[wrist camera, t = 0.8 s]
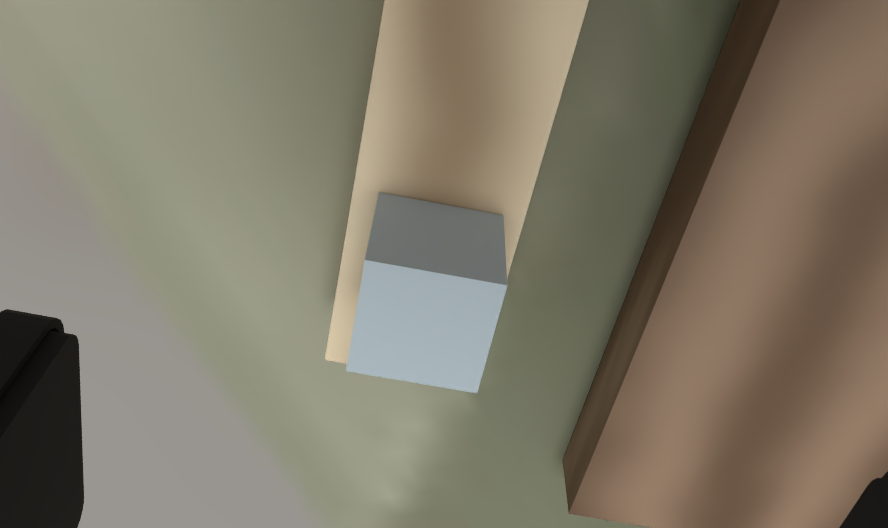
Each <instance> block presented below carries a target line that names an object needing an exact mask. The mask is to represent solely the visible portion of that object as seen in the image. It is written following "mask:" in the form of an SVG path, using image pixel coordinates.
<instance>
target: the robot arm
mask: <svg viewBox="0 0 888 528" xmlns="http://www.w3.org/2000/svg"><path fill="white" fill-rule="evenodd" d="M80 399H81V397H80V367H79V344H78V339H77V337H76V336H75V335H73V334H66V333H64V328H63V324H62V322H61V320H59V319H57V318H53V317H47V316H42V315H36V314H30V313H25V312H19V311H13V310H8V309H7V310H4V311H1V312H0V528H77V527H78V524H79V521H80V518H81V514H82V510H83V504H84V485H83V459H82V458H83V457H82V427H81V400H80ZM839 528H888V472H886V473H885V474H884V476H883V477H882V478H876V479H874V480H872V481H871V482H870V483H869V484H868V486H867V487H866V489H865V490H864V492H863V493H862V495H861V496H860V498H859V499H858V501H857V502H856V504H855V505H854V507H853V508H852V510H851V511H850V512H849V514H848V515H847V517H846V518H845V520H844V521H843V523H842V524H841V526H840V527H839Z"/></svg>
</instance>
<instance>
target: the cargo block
mask: <svg viewBox="0 0 888 528" xmlns="http://www.w3.org/2000/svg"><path fill="white" fill-rule="evenodd" d="M506 289H507V269H506V252H505V234H504V216H503V215H498V214H493V213H488V212H482V211H477V210H471V209H466V208H461V207H455V206H450V205H445V204H439V203H434V202H428V201H423V200H418V199H412V198H407V197H402V196H396V195H391V194H385V193H380V192H379V194H378V199H377V203H376V208H375V213H374V218H373V223H372V227H371V232H370V237H369V242H368V246H367V251H366V256H365V261H364V267H363V273H362V279H361V285H360V291H359V296H358V302H357V308H356V314H355V320H354V326H353V332H352V338H351V344H350V350H349V356H348V362H347V367H346V371H348V372H354V373H360V374H366V375H372V376H378V377H384V378H390V379H396V380H402V381H407V382H413V383H419V384H425V385H431V386H437V387H443V388H449V389H455V390H461V391H466V392H472V393H477V392H478V388H479V385H480V381H481V377H482V374H483V370H484V367H485V363H486V360H487V356H488V353H489V349H490V346H491V342H492V338H493V335H494V331H495V328H496V324H497V321H498V317H499V314H500V310H501V306H502V303H503V299H504V296H505V292H506Z"/></svg>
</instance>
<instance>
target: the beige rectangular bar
mask: <svg viewBox="0 0 888 528" xmlns="http://www.w3.org/2000/svg"><path fill="white" fill-rule="evenodd" d="M588 2H589V0H385V1H384V7H383V13H382V19H381V25H380V31H379V37H378V43H377V49H376V55H375V61H374V67H373V73H372V79H371V85H370V91H369V97H368V103H367V109H366V115H365V121H364V127H363V133H362V139H361V145H360V151H359V157H358V163H357V169H356V175H355V181H354V187H353V193H352V199H351V205H350V211H349V217H348V223H347V229H346V236H345V242H344V248H343V254H342V260H341V266H340V272H339V278H338V284H337V290H336V296H335V302H334V308H333V314H332V320H331V326H330V332H329V338H328V344H327V350H326V356H325V360H330V361H335V362H341V363H346V364H347V362H348V356H349V350H350V344H351V338H352V332H353V326H354V320H355V314H356V308H357V302H358V296H359V291H360V285H361V279H362V273H363V267H364V261H365V256H366V251H367V246H368V242H369V237H370V232H371V227H372V223H373V218H374V213H375V208H376V203H377V199H378V194H379V192H380V193H385V194H391V195H396V196H402V197H407V198H412V199H418V200H423V201H428V202H434V203H439V204H445V205H450V206H455V207H461V208H466V209H471V210H477V211H482V212H488V213H493V214H498V215H503V216H504V234H505V252H506V269H507V277H508V274H509V271H510V267H511V264H512V260H513V257H514V254H515V250H516V247H517V243H518V240H519V237H520V233H521V230H522V226H523V223H524V220H525V216H526V213H527V209H528V206H529V203H530V199H531V196H532V192H533V189H534V186H535V182H536V179H537V176H538V172H539V169H540V165H541V162H542V159H543V155H544V152H545V148H546V145H547V142H548V138H549V135H550V131H551V128H552V125H553V121H554V118H555V114H556V111H557V108H558V104H559V101H560V97H561V94H562V91H563V87H564V84H565V80H566V77H567V74H568V70H569V67H570V63H571V60H572V57H573V53H574V50H575V47H576V43H577V40H578V36H579V33H580V30H581V26H582V23H583V19H584V16H585V13H586V9H587V6H588Z"/></svg>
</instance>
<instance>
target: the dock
mask: <svg viewBox="0 0 888 528" xmlns="http://www.w3.org/2000/svg"><path fill="white" fill-rule="evenodd" d="M563 467H564V476H565V485H566V493H567V502H568V510H569V514H574V515H580V516H586V517H592V518H598V519H604V520H610V521H616V522H622V523H628V524H634V525H640V526H645V527H651V528H839V527H840V526H841V524H842V523H843V521H844V520H845V518H846V517H847V515H848V514H849V512H850V511H851V510H852V508H853V507H854V505H855V504H856V502H857V501H858V499H859V498H860V496H861V495H862V493H863V492H864V490H865V489H866V487H867V486H868V484H869V483H870V482H871V481H872V480H874V479H876V478H882V477H883V476H884V474H885V473H886V472H888V0H741V1H740V3H739V6H738V9H737V11H736V14H735V16H734V19H733V21H732V24H731V27H730V29H729V32H728V34H727V37H726V40H725V42H724V45H723V47H722V50H721V52H720V55H719V58H718V60H717V63H716V65H715V68H714V71H713V73H712V76H711V78H710V81H709V83H708V86H707V89H706V91H705V94H704V96H703V99H702V102H701V104H700V107H699V109H698V112H697V115H696V117H695V120H694V122H693V125H692V127H691V130H690V133H689V135H688V138H687V140H686V143H685V146H684V148H683V151H682V153H681V156H680V158H679V161H678V164H677V166H676V169H675V171H674V174H673V177H672V179H671V182H670V184H669V187H668V190H667V192H666V195H665V197H664V200H663V202H662V205H661V208H660V210H659V213H658V215H657V218H656V221H655V223H654V226H653V228H652V231H651V233H650V236H649V239H648V241H647V244H646V246H645V249H644V252H643V254H642V257H641V259H640V262H639V265H638V267H637V270H636V272H635V275H634V277H633V280H632V283H631V285H630V288H629V290H628V293H627V296H626V298H625V301H624V303H623V306H622V308H621V311H620V314H619V316H618V319H617V321H616V324H615V327H614V329H613V332H612V334H611V337H610V339H609V342H608V345H607V347H606V350H605V352H604V355H603V358H602V360H601V363H600V365H599V368H598V371H597V373H596V376H595V378H594V381H593V383H592V386H591V389H590V391H589V394H588V396H587V399H586V402H585V404H584V407H583V409H582V412H581V414H580V417H579V420H578V422H577V425H576V427H575V430H574V433H573V435H572V438H571V440H570V443H569V446H568V448H567V451H566V453H565V456H564V458H563Z"/></svg>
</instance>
